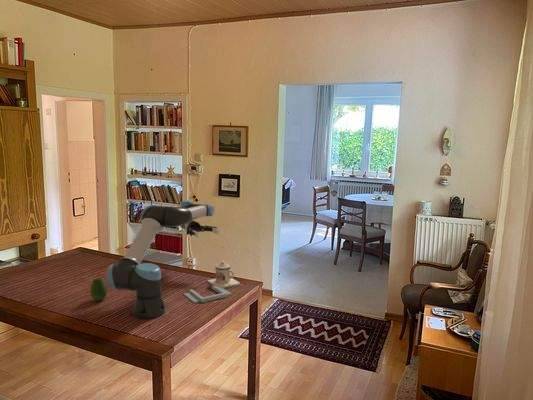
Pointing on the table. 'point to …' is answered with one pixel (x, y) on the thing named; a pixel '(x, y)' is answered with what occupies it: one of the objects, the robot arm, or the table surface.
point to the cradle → (197, 298)
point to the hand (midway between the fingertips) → (207, 233)
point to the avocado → (98, 289)
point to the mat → (224, 285)
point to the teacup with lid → (223, 273)
